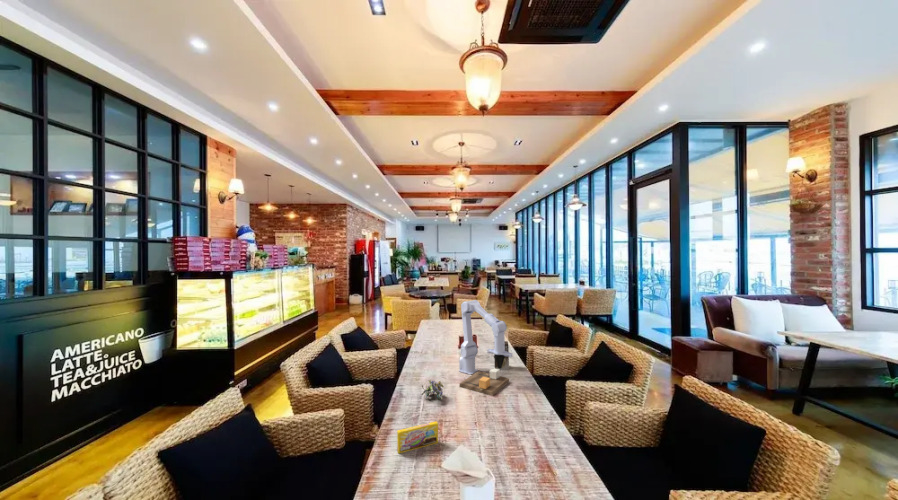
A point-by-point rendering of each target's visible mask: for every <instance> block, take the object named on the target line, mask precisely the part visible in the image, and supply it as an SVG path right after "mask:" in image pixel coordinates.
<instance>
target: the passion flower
mask: <svg viewBox="0 0 898 500" xmlns="http://www.w3.org/2000/svg"><path fill="white" fill-rule="evenodd" d="M428 383H429V384H430V386H427V388H426V389H425V387H424V385H423V384H422V385H421V388H422V389H423V392H422V393H421V396H423V395H424V394H425V398H424V399H425V400H426V399H427V397H429V395H430V394H431V393H432V394H435V393H436V397H437V399H438V400H439V401H440V400H443V397H442V396H443V390H444V389H443V388H444V385H443V383H442V382H441V380H439V381H438V382H437V381H435V380H431V379H429V380H428Z"/></svg>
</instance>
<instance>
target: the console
mask: <svg viewBox="0 0 898 500" xmlns="http://www.w3.org/2000/svg"><path fill="white" fill-rule="evenodd" d="M482 377H487V378H490V372H489V373H488V372H486V371H480V370H478V371H476V372H475V373H473V374H471V375H470V376H468V377H467V378H465V379H464V380H462V381H460V382H459V388H463V389H466V390H468V391H469V390H470V391H473V392H477V393H480V394H483V395H488V396H491V397H493V396H494V395H495V394H497V392H499V391H500V390H501V389H502V388H504V387H505V386H506V385H507V384H509V383H510V377H505V376H501V375H500V377H499V378H497V379H492V378H490V386H489V387H488V388H486V389H483V388H480V387H479V379H481V378H482Z"/></svg>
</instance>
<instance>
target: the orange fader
mask: <svg viewBox="0 0 898 500" xmlns="http://www.w3.org/2000/svg"><path fill="white" fill-rule="evenodd" d="M489 386H490V378H487V377H482V378H481V379H479V387H480V388H483V389H486V388H488V387H489Z"/></svg>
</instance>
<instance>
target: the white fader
mask: <svg viewBox="0 0 898 500" xmlns="http://www.w3.org/2000/svg"><path fill="white" fill-rule="evenodd" d="M489 374H490V378H492V379H497V378H499V377H500V376H501V369H495V367H494V368H491V369H490V370H489Z"/></svg>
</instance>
